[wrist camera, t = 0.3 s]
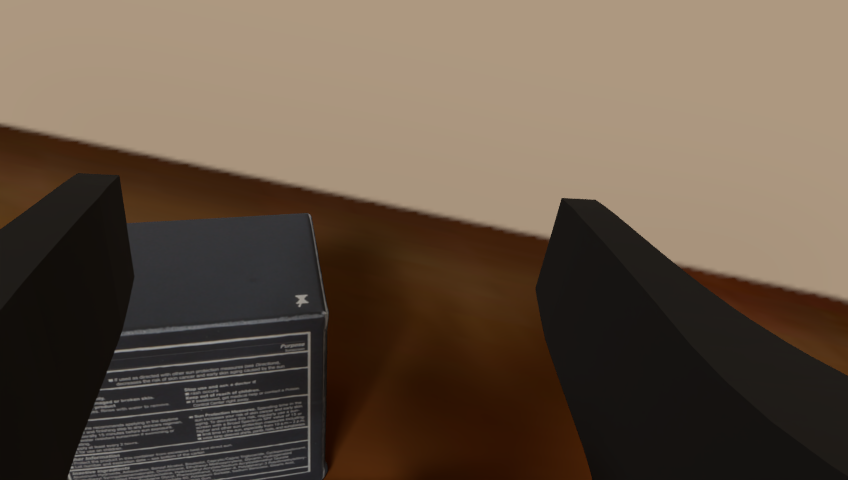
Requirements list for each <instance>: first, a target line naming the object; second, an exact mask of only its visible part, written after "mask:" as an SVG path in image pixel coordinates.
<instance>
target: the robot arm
mask: <svg viewBox="0 0 848 480" xmlns="http://www.w3.org/2000/svg"><path fill="white" fill-rule="evenodd" d="M134 277H135V276H134V270H133V263H132V256H131V250H130V243H129V237H128V230H127V223H126V217H125V210H124V204H123V197H122V190H121V184H120V177H119V175H101V174H82V173H78V174H76V175H74V176H73V177H71V178H70V179H68V180H67V181H66V182H64V183H63V184H61V185H60V186H59V187H57V188H56V189H55V190H53V191H52V192H51V193H49V194H48V195H47V196H45V197H44V198H43V199H41V200H40V201H39V202H37V203H36V204H35V205H33V206H32V207H31V208H29V209H28V210H27V211H25V212H24V213H22V214H21V215H20V216H18V217H17V218H16V219H14V220H13V221H11V222H10V223H9V224H7V225H6V226H4V227H3V228H2V229H0V480H67V478H68V475H69V472H70V469H71V466H72V463H73V460H74V457H75V454H76V451H77V448H78V445H79V443H80V440H81V438H82V435H83V433H84V430H85V427H86V425H87V422H88V420H89V417H90V414H91V412H92V409H93V407H94V404H95V402H96V399H97V396H98V394H99V391H100V389H101V386H102V384H103V381H104V378H105V376H106V373H107V371H108V368H109V365H110V363H111V360H112V357H113V355H114V352H115V349H116V347H117V344H118V341H119V339H120V336H121V333H122V330H123V326H124V322H125V318H126V314H127V310H128V305H129V301H130V296H131V291H132V287H133V282H134ZM536 295H537V300H538V306H539V311H540V317H541V321H542V326H543V331H544V336H545V340H546V343H547V346H548V349H549V352H550V355H551V357H552V360H553V363H554V366H555V369H556V372H557V375H558V378H559V381H560V383H561V386H562V389H563V392H564V395H565V397H566V400H567V403H568V406H569V409H570V411H571V414H572V417H573V420H574V423H575V425H576V428H577V431H578V434H579V437H580V440H581V442H582V445H583V448H584V452H585V455H586V458H587V461H588V465H589V468H590V471H591V475H592V480H848V376H847V375H845V374H843V373H841V372H840V371H838V370H836V369H834V368H832V367H830V366H828V365H826V364H824V363H823V362H821V361H819V360H817V359H815V358H813V357H811V356H810V355H808V354H806V353H804V352H803V351H801V350H799V349H797V348H796V347H794V346H792V345H790V344H789V343H787V342H785V341H784V340H782V339H781V338H779V337H778V336H776V335H774V334H773V333H771V332H770V331H768V330H766V329H765V328H763V327H762V326H760V325H758V324H757V323H755V322H754V321H752V320H750V319H749V318H747V317H746V316H745V315H743V314H742V313H740V312H739V311H737V310H736V309H734V308H733V307H731V306H730V305H729V304H727V303H726V302H725V301H723V300H722V299H720V298H719V297H718V296H716V295H715V294H714V293H712V292H711V291H709V290H708V289H707V288H705V287H704V286H703V285H701V284H700V283H699V282H697V281H696V280H695V279H694V278H692V277H691V276H690V275H688V274H687V273H686V272H685V271H683V270H682V269H681V268H680V267H678V266H677V265H676V264H675V263H673V262H672V261H671V260H670V259H668V258H667V257H666V256H665V255H663V254H662V253H661V252H660V251H659V250H657V249H656V248H655V247H653V245H651V244H650V243H649V242H648V241H647V240H645V239H644V238H643V237H642V236H641V235H639V234H638V233H637V232H636V231H635V230H633V229H632V228H631V227H630V226H629V225H627V224H626V223H625V222H624V221H623V220H621V219H620V218H619V217H618V216H617V215H615V214H614V213H613V212H611V211H610V210H609V209H608V208H606V207H605V206H604V205H602V204H601V203H599V202H598V201H596V200H586V199H568V198H562V199H561V203H560V206H559V210H558V213H557V216H556V220H555V224H554V227H553V230H552V234H551V237H550V241H549V244H548V247H547V251H546V254H545V258H544V261H543V265H542V268H541V272H540V275H539V278H538V282H537V285H536Z"/></svg>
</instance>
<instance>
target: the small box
mask: <svg viewBox="0 0 848 480" xmlns="http://www.w3.org/2000/svg"><path fill="white" fill-rule="evenodd" d="M127 230H128V237H129V243H130V250H131V256H132V263H133V270H134V276H135V277H134V282H133V287H132V291H131V296H130V301H129V305H128V310H127V314H126V318H125V322H124V326H123V330H122V333H121V336H120V339H119V341H118V344H117V347H116V349H115V352H114V355H113V357H112V360H111V363H110V365H109V368H108V371H107V373H106V376H105V378H104V381H103V384H102V386H101V389H100V391H99V394H98V396H97V399H96V402H95V404H94V407H93V409H92V412H91V414H90V417H89V420H88V422H87V425H86V427H85V430H84V433H83V435H82V438H81V440H80V443H79V445H78V448H77V451H76V454H75V457H74V460H73V463H72V466H71V469H70V472H69V475H68V478H67V480H322V479H323V478H324V477H325V475H326V473H327V472H328V467H327V463H326V461H325V432H326V393H327V390H326V385H327V381H326V377H327V328H328V319H329V310H328V307H327V303H326V296H325V291H324V285H323V280H322V273H321V268H320V263H319V258H318V251H317V245H316V240H315V233H314V228H313V222H312V217H311V215H310V214H308V213H301V214H284V215H268V216H251V217H233V218H215V219H197V220H179V221H161V222H143V223H127Z"/></svg>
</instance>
